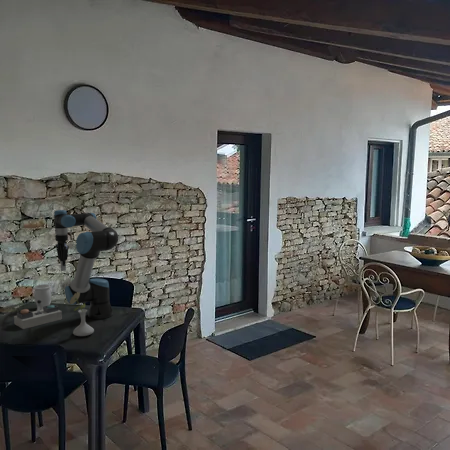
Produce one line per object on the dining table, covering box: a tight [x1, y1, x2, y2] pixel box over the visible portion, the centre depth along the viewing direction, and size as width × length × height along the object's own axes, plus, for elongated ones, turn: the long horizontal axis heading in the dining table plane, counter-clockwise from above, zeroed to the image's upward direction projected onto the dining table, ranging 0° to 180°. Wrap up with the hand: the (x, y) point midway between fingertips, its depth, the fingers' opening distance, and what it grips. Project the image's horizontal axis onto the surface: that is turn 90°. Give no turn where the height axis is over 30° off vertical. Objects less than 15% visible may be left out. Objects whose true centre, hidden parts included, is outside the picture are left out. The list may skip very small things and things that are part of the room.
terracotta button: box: [20, 308, 30, 315], centre depth 279 cm, size 4×4×2 cm
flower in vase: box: [69, 292, 95, 337], centre depth 262 cm, size 13×11×25 cm
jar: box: [33, 284, 52, 310], centre depth 310 cm, size 11×10×15 cm
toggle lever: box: [36, 300, 41, 312], centre depth 283 cm, size 2×2×8 cm
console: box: [13, 304, 63, 330], centre depth 285 cm, size 12×24×8 cm, turn 136°
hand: (63, 270), depth 304 cm, fingers closed
